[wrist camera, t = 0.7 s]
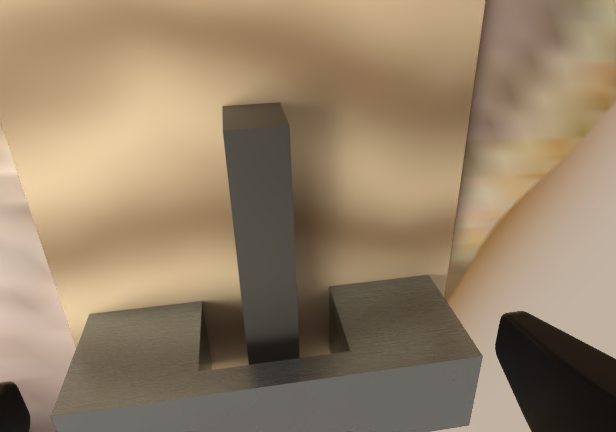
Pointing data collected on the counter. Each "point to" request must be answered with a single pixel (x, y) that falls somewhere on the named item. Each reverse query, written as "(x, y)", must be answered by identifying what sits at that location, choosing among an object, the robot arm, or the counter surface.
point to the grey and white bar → (263, 227)
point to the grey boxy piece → (278, 371)
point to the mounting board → (211, 152)
